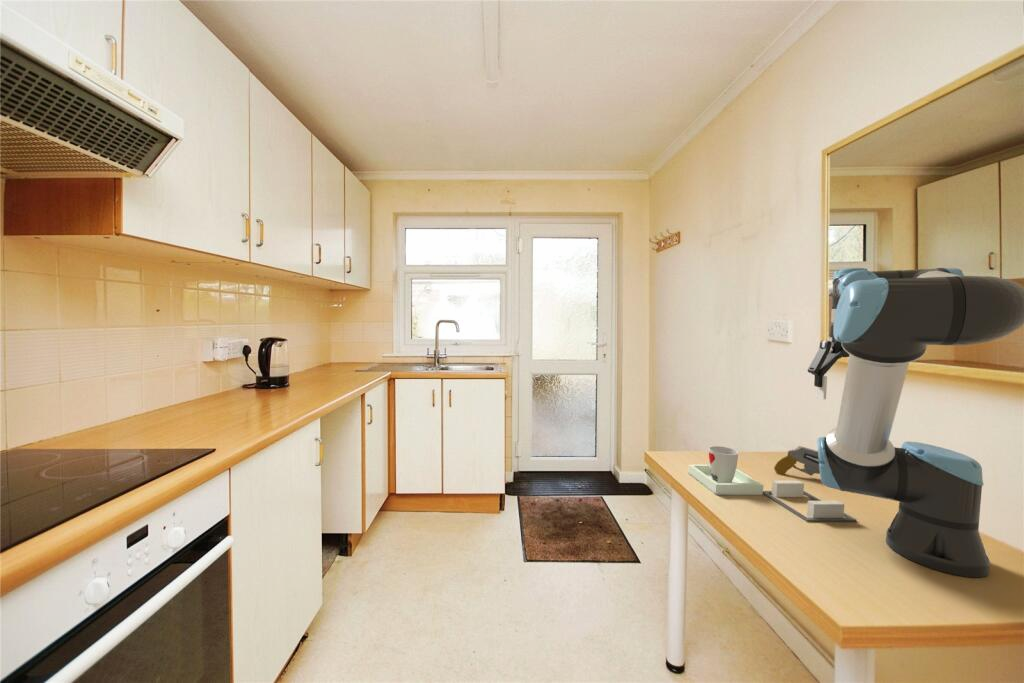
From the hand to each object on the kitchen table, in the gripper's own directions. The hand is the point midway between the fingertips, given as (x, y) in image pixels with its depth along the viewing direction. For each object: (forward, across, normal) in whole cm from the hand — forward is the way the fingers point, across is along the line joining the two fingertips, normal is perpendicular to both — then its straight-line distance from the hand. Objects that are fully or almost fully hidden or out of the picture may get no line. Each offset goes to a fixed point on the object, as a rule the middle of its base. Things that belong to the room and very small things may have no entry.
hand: (843, 398), depth 111 cm
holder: (+29, +14, +5) cm, 32 cm away
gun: (+29, -8, -13) cm, 33 cm away
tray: (+29, +28, -10) cm, 41 cm away
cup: (+28, +28, -10) cm, 41 cm away
